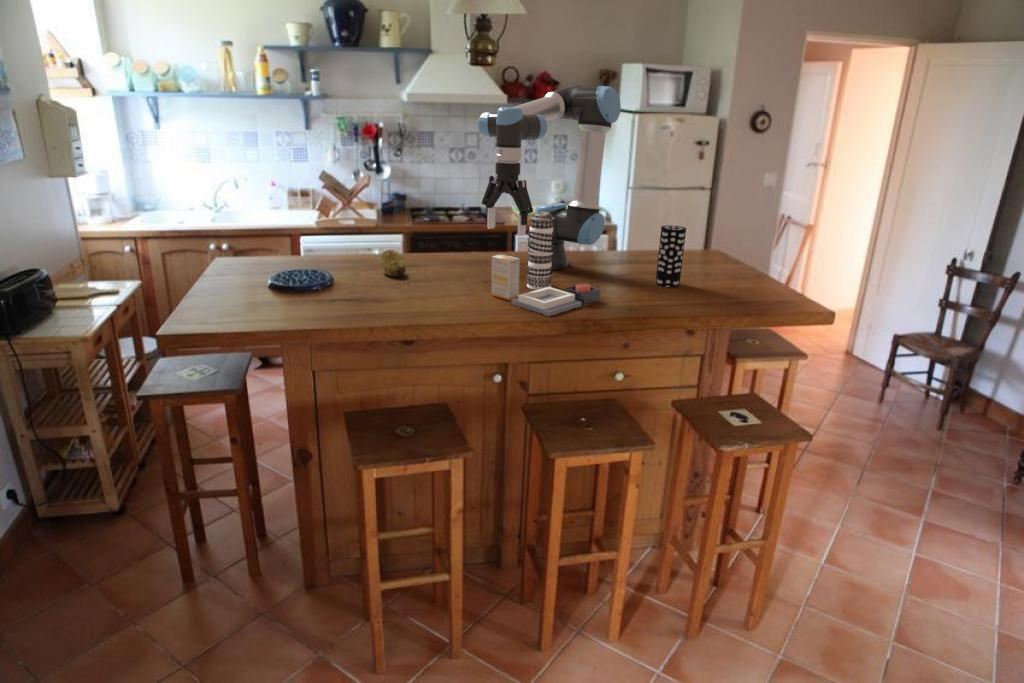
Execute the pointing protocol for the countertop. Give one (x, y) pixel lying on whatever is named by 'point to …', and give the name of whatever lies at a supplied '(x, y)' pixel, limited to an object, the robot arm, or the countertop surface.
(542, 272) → the decorative candle
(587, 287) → the button
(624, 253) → the countertop surface
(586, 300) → the button housing
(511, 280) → the supplement box
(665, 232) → the spotted tube
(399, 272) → the potato
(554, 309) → the plate
